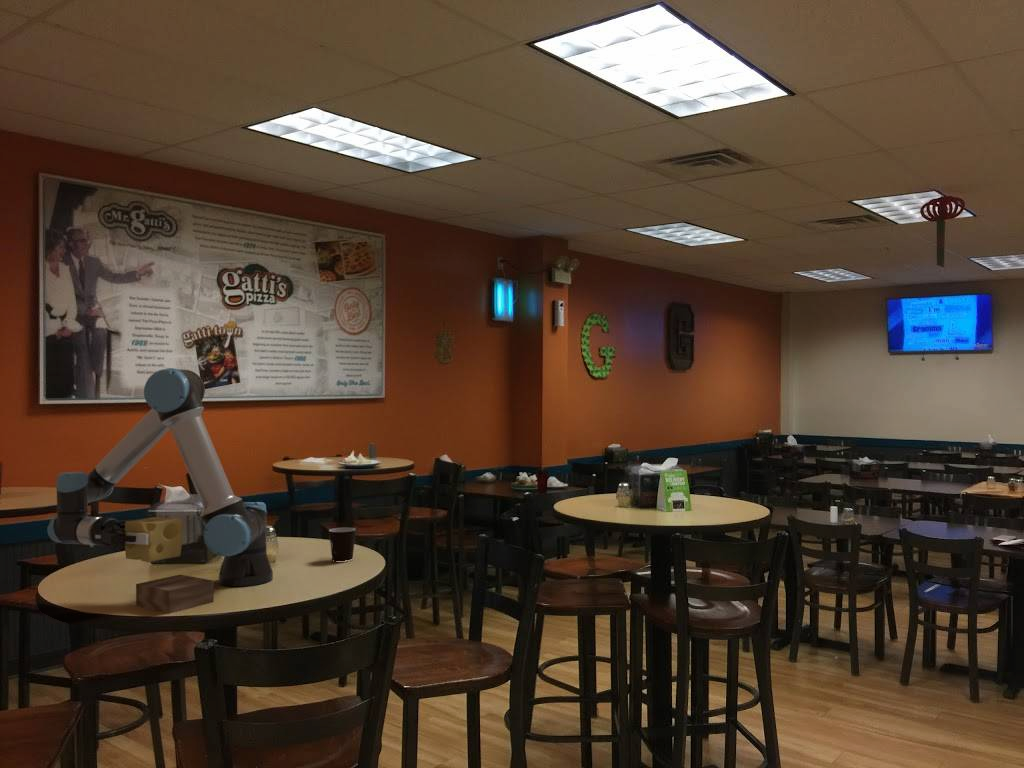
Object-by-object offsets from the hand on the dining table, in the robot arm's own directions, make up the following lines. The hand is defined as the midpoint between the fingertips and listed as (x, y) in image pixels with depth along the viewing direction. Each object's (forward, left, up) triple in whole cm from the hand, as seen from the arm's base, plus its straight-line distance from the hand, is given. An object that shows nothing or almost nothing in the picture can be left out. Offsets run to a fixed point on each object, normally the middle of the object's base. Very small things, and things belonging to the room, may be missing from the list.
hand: (164, 535), depth 219 cm
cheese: (+4, 0, -6) cm, 7 cm away
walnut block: (-3, -1, -18) cm, 18 cm away
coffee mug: (-15, -64, -18) cm, 68 cm away
